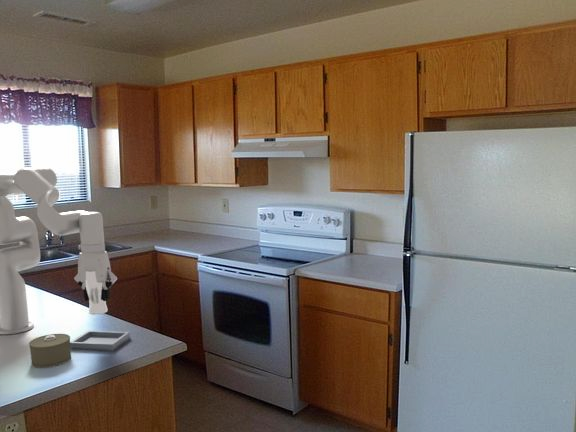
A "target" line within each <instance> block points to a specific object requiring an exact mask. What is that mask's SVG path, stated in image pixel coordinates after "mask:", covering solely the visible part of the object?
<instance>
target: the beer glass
mask: <svg viewBox="0 0 576 432" xmlns="http://www.w3.org/2000/svg"><path fill="white" fill-rule="evenodd" d="M85 272H86V278H85V281H86V282H85V287H86V291H87V295H88V299H89V300H88V303H89V305H88V306H89V308H88V314H89V315H95V316H96V315H102V314H105V313H107V312H108V307H107V301H103V294H102V290H104V288H103V286H102V282H101V283H98V282H97V280H96V275H95V274H96V273H95V271H85ZM105 283H106V282H105Z"/></svg>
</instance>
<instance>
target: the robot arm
mask: <svg viewBox="0 0 576 432" xmlns="http://www.w3.org/2000/svg"><path fill="white" fill-rule="evenodd" d="M57 183H58V177H57V175H56V173H55V171H54V170H53V169H52V168H50V167H47V166H36V167H35V166H33V167H32V166H31V167H24V168H21V169H19V170H17V171H12V172H8V171H7V172H0V246H1V245H2V246H3V245H10V244H16V243H19V245H16V246H8V247H4V248H0V335H15V334H20V333H24V332H27V331H29V330H31V329H33V328H34V322H33V321H30V320H29V311H28V300H27V299H28V298H27V289H26V282H25V280H24V278H23V277H22V275H20V273H19V272H22V271H24V270H29V269H32V268H34V267H37V266H38V265H39V263H40V261H41V249H40V248H41V247H40V242H39V233H38V229H37V225H36V223H35V221H34V220H33V219H32V218H30V217H28V216H19V217H18V216H16V213H15V207H14V205H13V203H12V202H11V201H10V199H9V198H8V196H19V195H26V196H27V197H28V198H29V199H30V200H31V201H32V202H33V203H34V204H36V206H37V207H36V212H37V213H36V214H37V217H38V219H39V222H40V223H41V224H42V226H44V227H45V229H48V231H50V233H52V234H54V235H57V236H61V237H63V236H67V235H72V234H79V238H80V244H78V247H77V248H78V250H80V252H79V253H78V261H77V274H76V275H75V276H74V278H73V279H74V280H75V282H77V283H78V286H80V287H81V289H82V290H83V298H84V301H85V302H87V301H88V302H89V299H88V295H87V291H86V287H85V282H86V281H85V278H86V272H85V271H95V273H96V274H95V275H96V280H97V282H98V283H101V282H102V286H103V288H104V290H102V294H103V301H106V302H107V301H109V300H110V299H111V297H110V296H111V292H110V288H112V286H113V285H114V283H115V282H116V281H117V280H118V277H117V275H115V274H114V272H113V271H112V269H111V263H110V262H111V261H110V258H109V255H108V252H107V251H106V244H105V234H104V220H103V219H104V218H103V214H102V213H101V212H99V211H85V210H75V211H73V210H72V211H66V212H58V211H57V210H55V208H54V207H53V206H54V205H56V203H57V202H58V200H59V198H60V191H59V189H58V188H57V187H56V185H57ZM105 282H106V283H105Z"/></svg>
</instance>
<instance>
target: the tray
mask: <svg viewBox="0 0 576 432" xmlns="http://www.w3.org/2000/svg"><path fill="white" fill-rule="evenodd" d="M130 339H131V332H130V331H111V330H110V331H108V330H107V331H106V330H87V331H85V332H84V333H83V334H80V336H78V337H76V338H74V339H72V340H70V350H71V351H74V350H75V351H91V352H95V351H97V352H114V351H116V350H118V348H119V347H121V346H122V345H124V344H125V343H127V342H129V340H130Z"/></svg>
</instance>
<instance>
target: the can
mask: <svg viewBox="0 0 576 432" xmlns="http://www.w3.org/2000/svg"><path fill="white" fill-rule="evenodd" d="M70 342H71V336H70V335H69V334H67V333H51V334H45V335H41V336H39V337H36V338H34V339H31V341H29V343H28V346H29V351H30V359H31V360H30V361H31V366H32V367H34V368H37V369H38V368H39V369H45V368H46V369H47V368H53V366H54V367H58V366H61V365H64V364H66V363H68V362H69V361H70V360H72V353H71V352H72V350H70ZM65 362H66V363H65ZM63 363H64V364H63ZM60 364H61V365H60ZM57 365H58V366H57Z"/></svg>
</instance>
